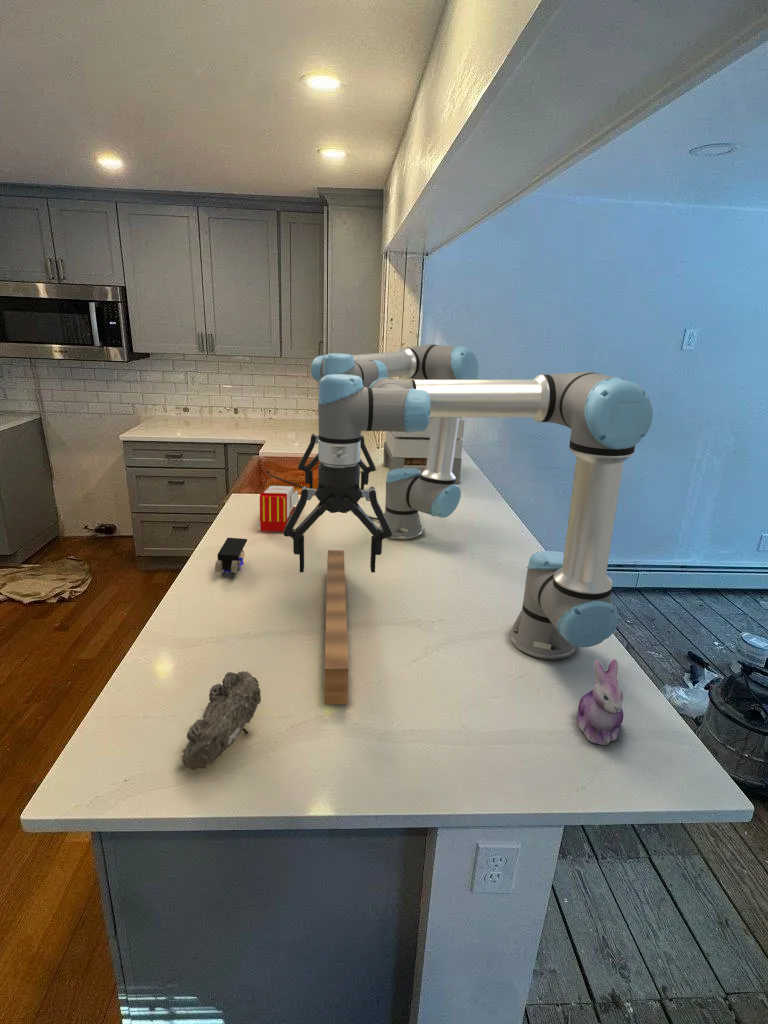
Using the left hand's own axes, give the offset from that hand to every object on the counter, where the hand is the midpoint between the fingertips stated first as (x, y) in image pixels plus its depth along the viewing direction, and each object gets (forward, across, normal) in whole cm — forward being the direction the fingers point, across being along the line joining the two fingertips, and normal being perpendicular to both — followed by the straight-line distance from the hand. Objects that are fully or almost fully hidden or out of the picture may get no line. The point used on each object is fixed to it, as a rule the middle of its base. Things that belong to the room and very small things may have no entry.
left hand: (336, 495), depth 152 cm
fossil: (+27, -20, -58) cm, 67 cm away
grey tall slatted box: (+27, +41, +118) cm, 128 cm away
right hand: (0, 0, -45) cm, 45 cm away
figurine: (+27, +51, -60) cm, 83 cm away
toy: (+27, -21, +54) cm, 63 cm away
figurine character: (+27, -30, +10) cm, 42 cm away
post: (+27, 0, -23) cm, 35 cm away
